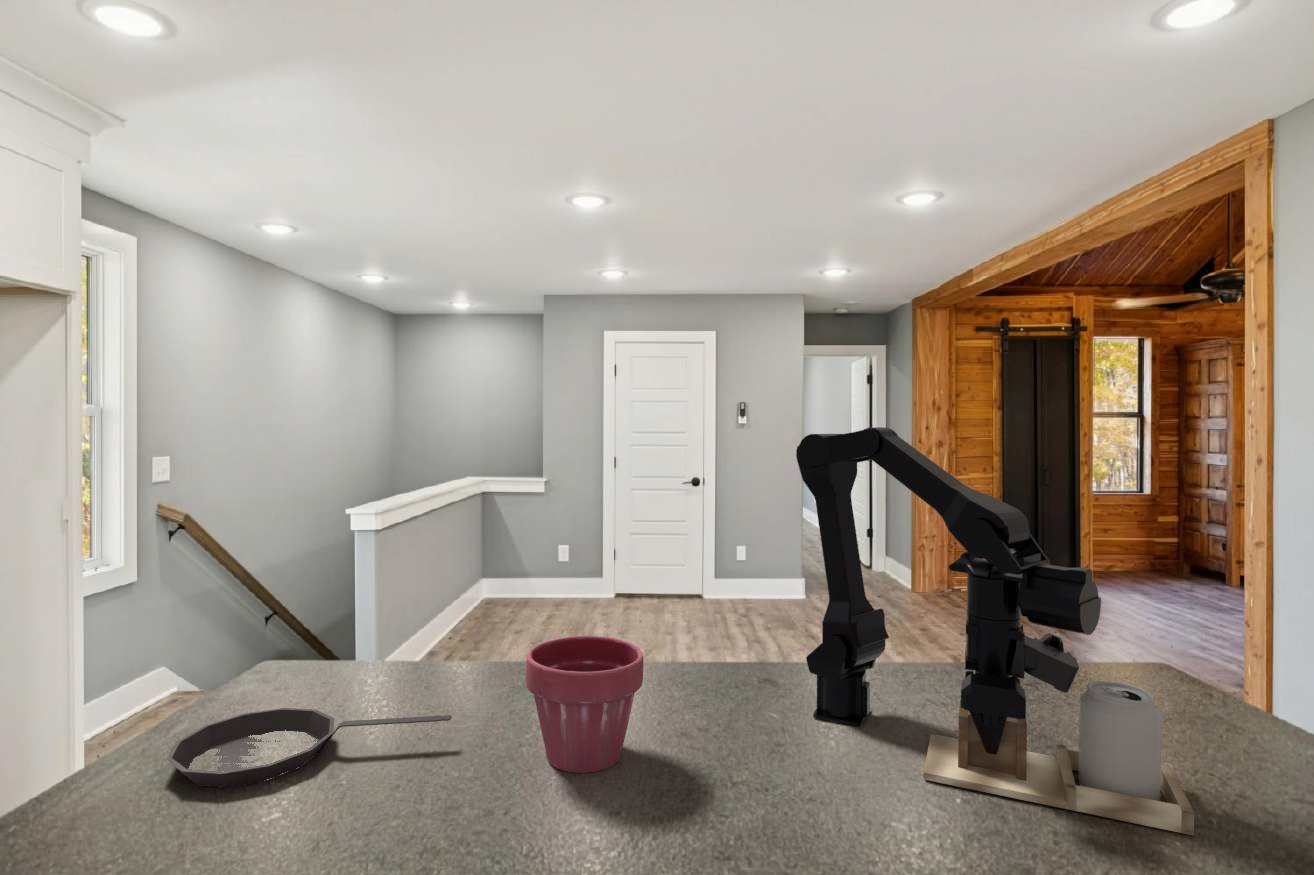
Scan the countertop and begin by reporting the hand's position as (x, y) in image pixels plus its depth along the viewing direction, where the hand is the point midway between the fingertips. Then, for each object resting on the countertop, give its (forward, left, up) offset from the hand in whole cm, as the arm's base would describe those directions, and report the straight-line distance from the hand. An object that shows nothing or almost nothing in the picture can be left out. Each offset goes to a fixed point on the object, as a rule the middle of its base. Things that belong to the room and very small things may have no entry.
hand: (991, 747), depth 82 cm
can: (+13, 0, -3) cm, 13 cm away
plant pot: (-45, -17, -3) cm, 48 cm away
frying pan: (-75, -31, -4) cm, 81 cm away
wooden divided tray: (+5, 0, -3) cm, 6 cm away
